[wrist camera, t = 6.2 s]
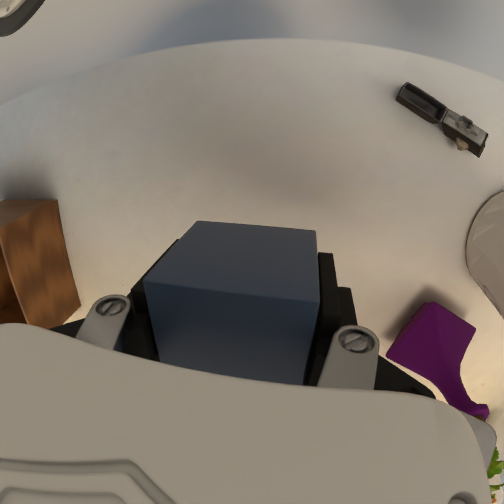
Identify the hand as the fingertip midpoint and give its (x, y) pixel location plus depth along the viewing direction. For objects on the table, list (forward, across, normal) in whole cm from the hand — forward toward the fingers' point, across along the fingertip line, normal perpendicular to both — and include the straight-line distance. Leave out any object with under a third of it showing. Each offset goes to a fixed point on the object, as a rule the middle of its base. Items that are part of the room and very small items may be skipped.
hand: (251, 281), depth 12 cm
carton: (+15, +32, +9) cm, 37 cm away
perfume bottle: (+15, -17, +12) cm, 26 cm away
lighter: (+15, -13, -8) cm, 21 cm away
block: (0, 0, 0) cm, 0 cm away
